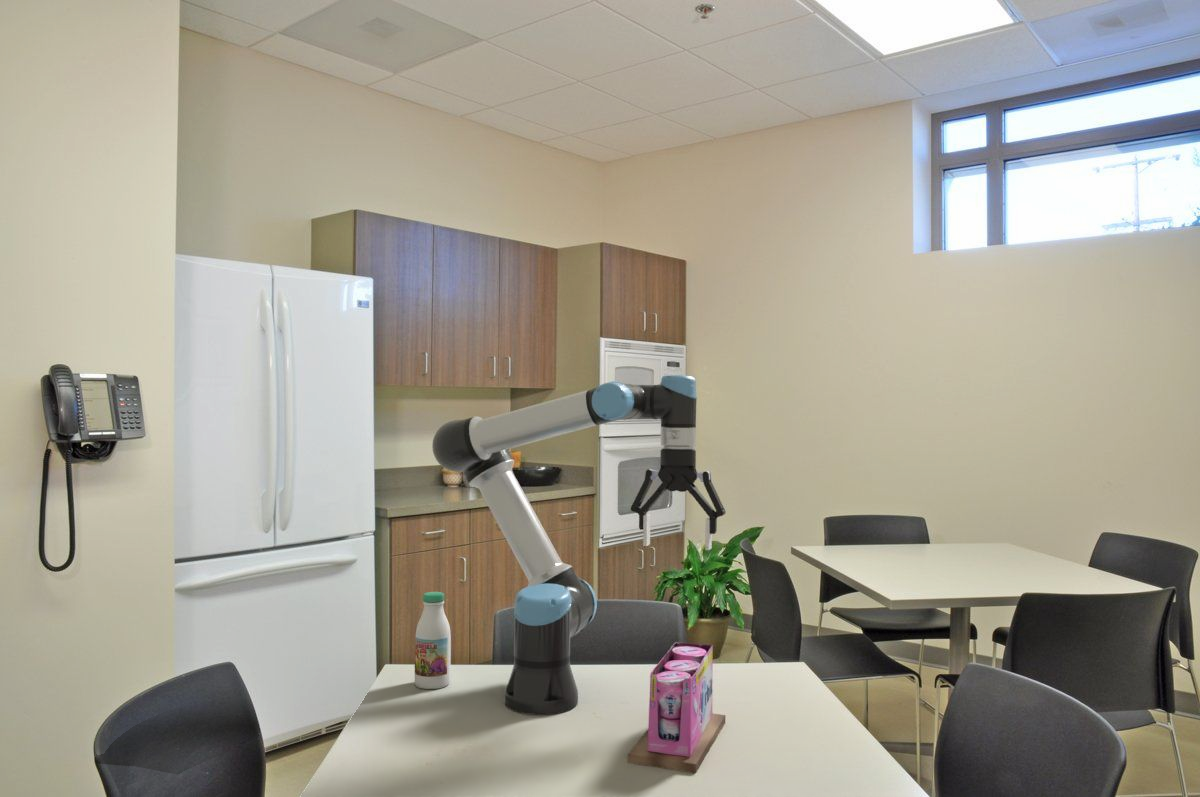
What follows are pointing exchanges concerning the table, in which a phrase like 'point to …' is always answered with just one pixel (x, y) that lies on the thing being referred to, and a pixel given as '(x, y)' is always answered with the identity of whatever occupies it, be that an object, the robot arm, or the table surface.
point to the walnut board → (677, 762)
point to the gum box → (680, 699)
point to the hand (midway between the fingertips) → (677, 547)
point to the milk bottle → (432, 644)
